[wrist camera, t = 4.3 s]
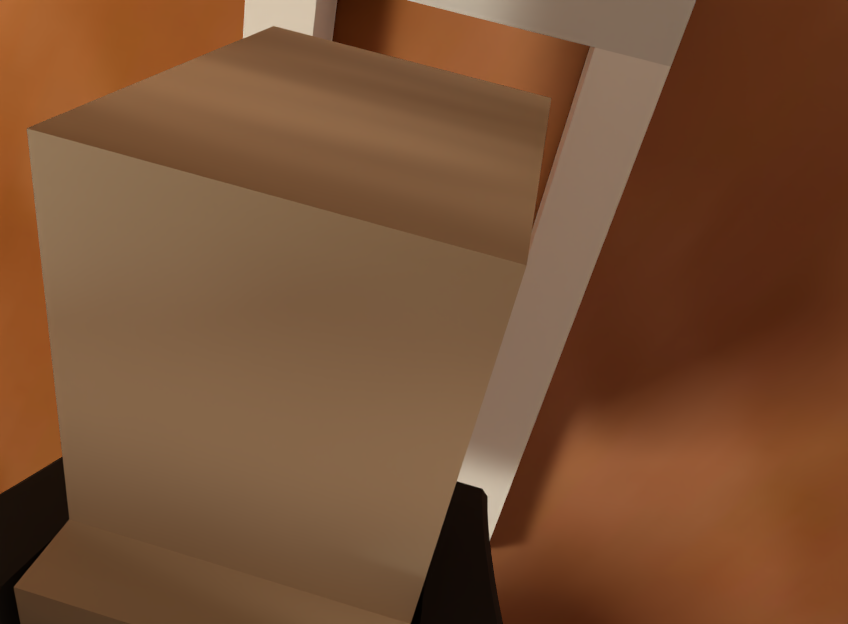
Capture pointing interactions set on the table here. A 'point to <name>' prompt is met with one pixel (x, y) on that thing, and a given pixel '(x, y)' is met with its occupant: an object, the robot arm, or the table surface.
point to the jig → (549, 189)
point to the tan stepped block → (272, 328)
